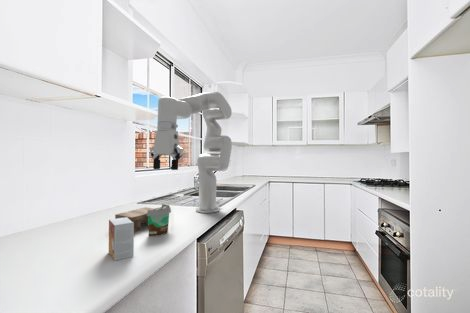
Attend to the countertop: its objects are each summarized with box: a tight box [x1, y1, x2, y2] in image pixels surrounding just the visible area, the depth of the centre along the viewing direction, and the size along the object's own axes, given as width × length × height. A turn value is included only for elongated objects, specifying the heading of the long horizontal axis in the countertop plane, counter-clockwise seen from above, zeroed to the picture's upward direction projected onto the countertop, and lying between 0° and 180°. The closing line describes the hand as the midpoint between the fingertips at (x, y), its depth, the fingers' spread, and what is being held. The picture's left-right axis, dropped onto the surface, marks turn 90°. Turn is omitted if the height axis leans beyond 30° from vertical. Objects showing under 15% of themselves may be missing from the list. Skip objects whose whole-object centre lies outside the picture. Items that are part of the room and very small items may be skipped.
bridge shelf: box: [114, 206, 155, 233], centre depth 106 cm, size 16×10×6 cm, turn 153°
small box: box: [108, 217, 135, 262], centre depth 76 cm, size 8×6×10 cm
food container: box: [147, 203, 172, 237], centre depth 97 cm, size 12×6×10 cm, turn 168°
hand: (165, 169), depth 100 cm, fingers open, 9 cm apart
